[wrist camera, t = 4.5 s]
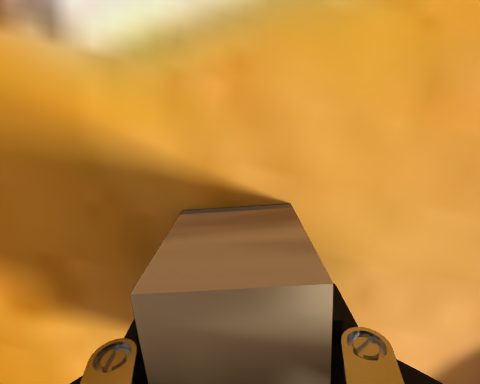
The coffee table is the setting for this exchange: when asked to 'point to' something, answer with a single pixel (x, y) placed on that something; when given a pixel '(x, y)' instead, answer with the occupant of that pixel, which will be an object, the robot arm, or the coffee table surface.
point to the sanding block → (235, 301)
